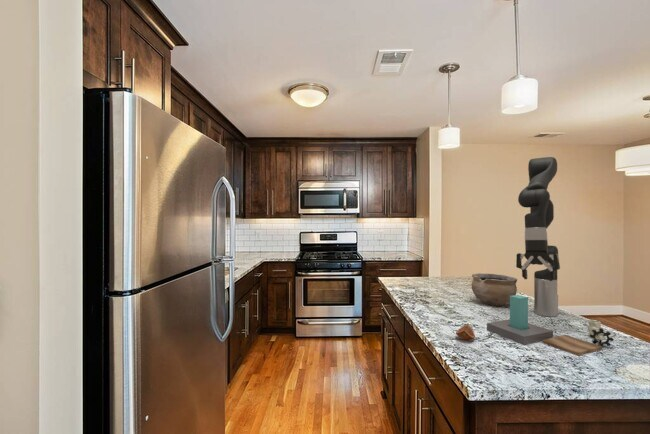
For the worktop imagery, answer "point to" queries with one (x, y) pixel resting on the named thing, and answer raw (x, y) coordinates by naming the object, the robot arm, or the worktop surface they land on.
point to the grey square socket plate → (519, 332)
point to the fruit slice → (466, 333)
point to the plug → (519, 312)
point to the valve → (598, 333)
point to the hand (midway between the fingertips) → (538, 280)
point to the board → (572, 345)
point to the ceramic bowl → (493, 288)
